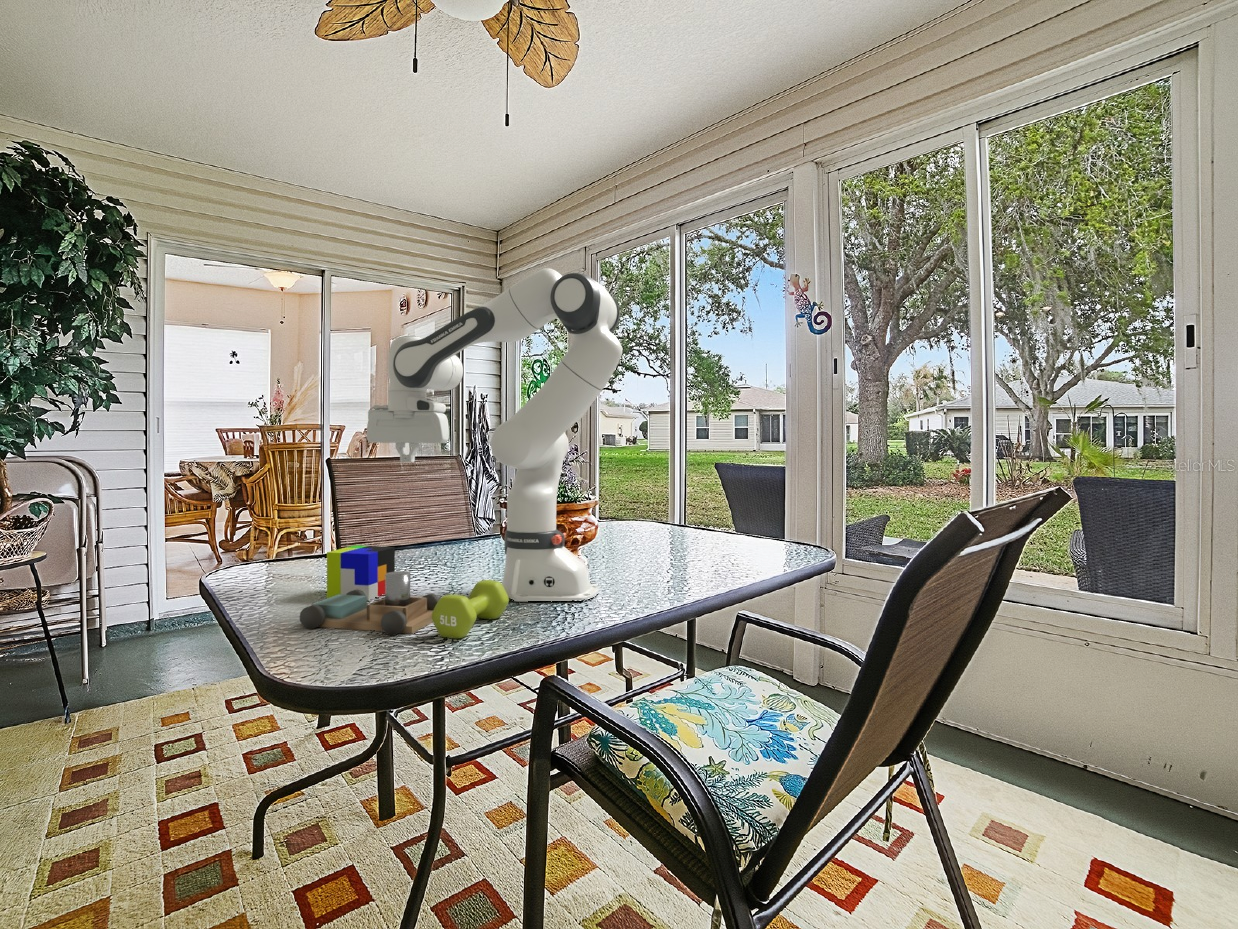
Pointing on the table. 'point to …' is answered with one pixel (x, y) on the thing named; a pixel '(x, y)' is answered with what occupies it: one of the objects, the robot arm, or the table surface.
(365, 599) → the chassis
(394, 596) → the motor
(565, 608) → the table surface
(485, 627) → the table surface
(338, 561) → the puzzle toy
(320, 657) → the table surface
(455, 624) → the dumbbell
